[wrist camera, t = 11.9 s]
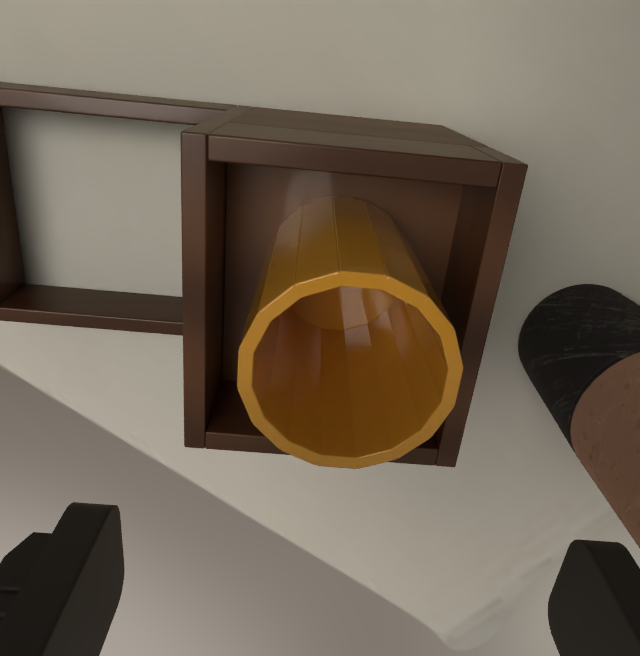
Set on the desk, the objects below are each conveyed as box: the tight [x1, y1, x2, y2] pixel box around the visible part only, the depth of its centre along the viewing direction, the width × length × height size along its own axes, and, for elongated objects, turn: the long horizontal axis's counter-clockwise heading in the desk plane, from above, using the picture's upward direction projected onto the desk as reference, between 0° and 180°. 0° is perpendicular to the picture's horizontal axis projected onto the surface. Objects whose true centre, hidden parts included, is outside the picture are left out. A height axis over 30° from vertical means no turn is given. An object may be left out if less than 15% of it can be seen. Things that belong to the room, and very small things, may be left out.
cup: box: [237, 195, 463, 469], centre depth 19 cm, size 6×6×9 cm
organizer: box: [0, 82, 528, 467], centre depth 25 cm, size 12×23×13 cm, turn 85°
